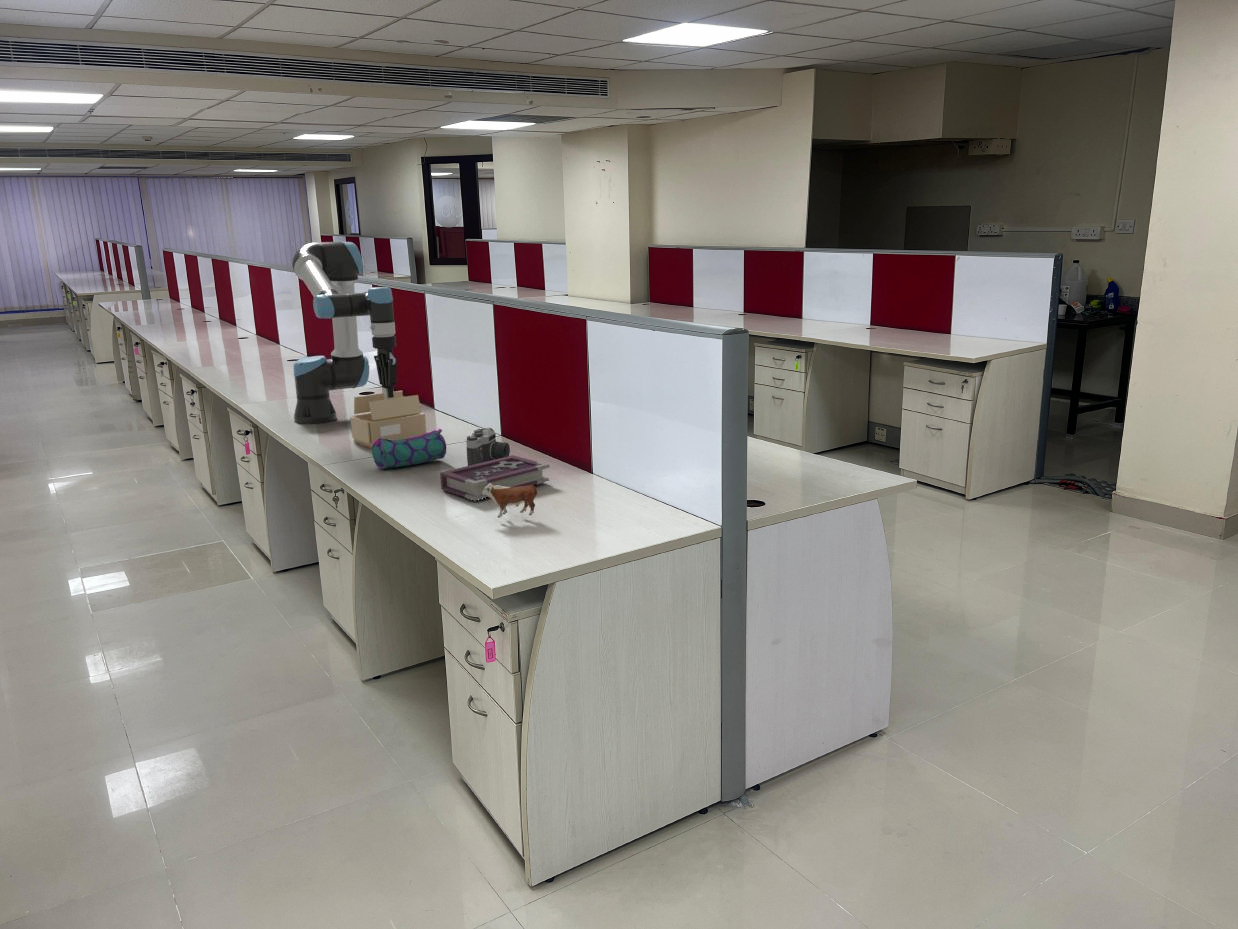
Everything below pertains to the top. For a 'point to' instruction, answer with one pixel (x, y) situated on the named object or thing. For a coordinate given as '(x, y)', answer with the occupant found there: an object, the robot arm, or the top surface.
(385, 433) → the carton
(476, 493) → the book
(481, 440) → the camera
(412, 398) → the flap
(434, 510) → the top surface
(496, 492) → the bull figurine
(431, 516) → the top surface
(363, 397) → the flap
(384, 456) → the pencil case
